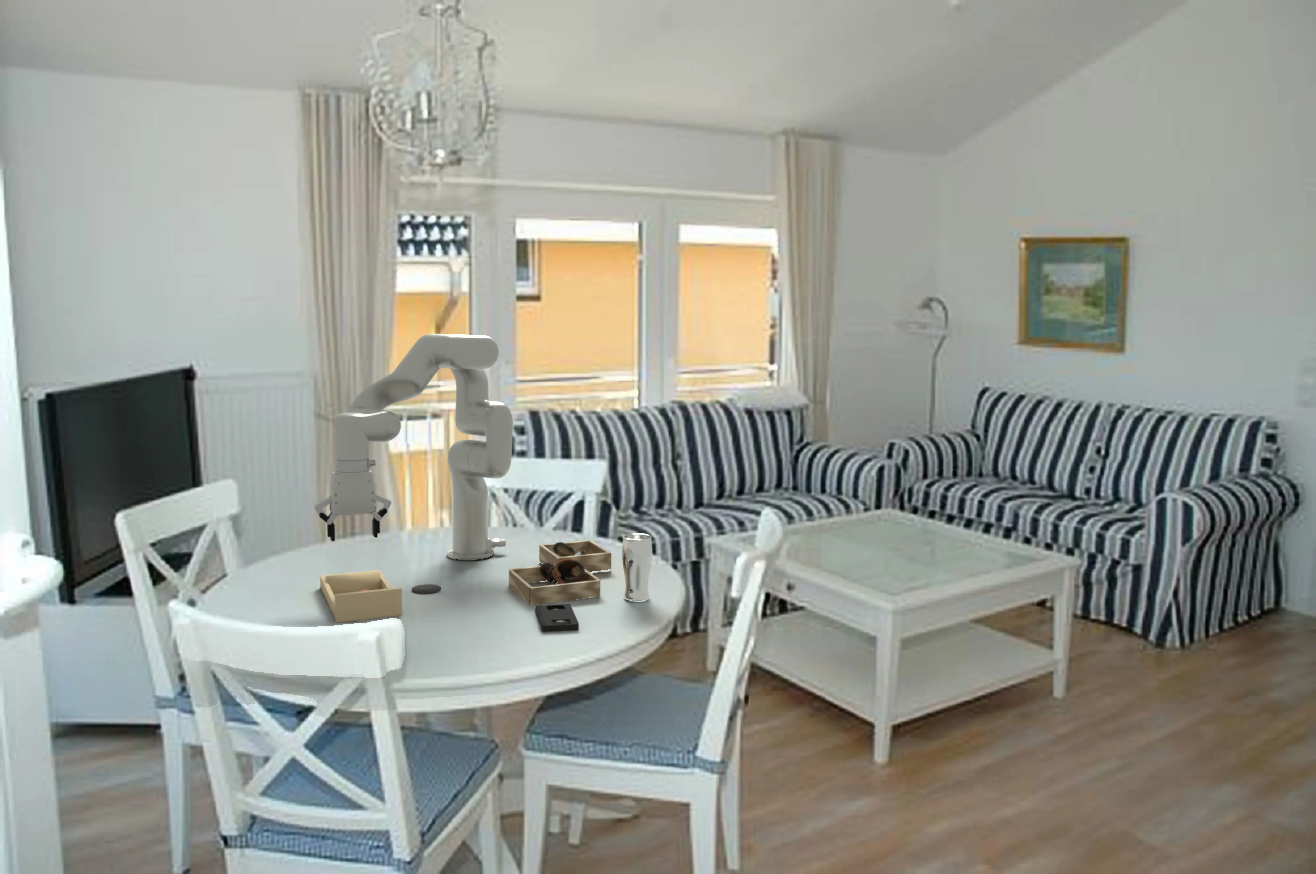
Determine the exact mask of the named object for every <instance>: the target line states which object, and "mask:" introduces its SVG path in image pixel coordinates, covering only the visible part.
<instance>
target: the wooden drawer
mask: <svg viewBox="0 0 1316 874" xmlns="http://www.w3.org/2000/svg"><path fill="white" fill-rule="evenodd" d="M319 578H320V579H319V582H320V584H319V585H320V589H321V592H322V594H324V595H323V597H324V599H325V601H326V603H327V605H328V608H329V610H330V612H331V614H332V617H333V619H334V621H335V623H336V624H337V623H343V622H353V621H363V620H371V619H378V618H379V619H380V618H387V617H396V616H402V615H403V595H402V594H403V593H402V592H403V591H402V587H400V586H399V587H392V585H391V583H390V582H389V581H388V579H387V578H386V576H385V575H384V574H383V572H382V571H381V570H380V569H375V570H374V569H373V570H367V571H366V570H365V571H354V572H345V573H334V574H324V575H323V574H322V575H319ZM364 589H368V590H369V591H361V590H364Z"/></svg>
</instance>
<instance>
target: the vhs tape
mask: <svg viewBox="0 0 1316 874" xmlns="http://www.w3.org/2000/svg"><path fill="white" fill-rule="evenodd" d="M534 607H535V608H534V610H535V611H534V612H535V615H536V619H537V622H538V625H539V628H540V632H541V633H557V632H560V633H561V632H576V631H579V630H580V629H579V628H580V626H579V625H580V622H579V621H578V619H577V617H576V614H575V612H574V609H573V607H572V605H571V603H563V604H562V603H561V604H560V603H559V604H538V605H534Z"/></svg>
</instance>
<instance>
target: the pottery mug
mask: <svg viewBox="0 0 1316 874" xmlns="http://www.w3.org/2000/svg"><path fill="white" fill-rule="evenodd" d="M540 566H541V567H540V569H539V570H540V573H541V575H542V576H543V577H544V578H545V579H546V580H547V581H548V582H547V583H548V585H552V583H553V582H554V583H557V582H558V583H557V584H566V583H575V582H584V580H585V579H587V577H586V574H585V573H584V571H585V570H584V566H583V564H581V563H580V562H579V561H577V560H574V559H562V560H560V561H558V562H557V563H556V564H555V565H553V564H551V563H543V564H542V565H541V564H540ZM576 566H578V567H579V568H580V569H581V573H580V575H578V576H576V575H574V574H572V573H571V571H572V569H573V568H575V567H576ZM547 571H548V572H547ZM553 578H554V581H553Z"/></svg>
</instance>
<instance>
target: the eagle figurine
mask: <svg viewBox="0 0 1316 874" xmlns="http://www.w3.org/2000/svg"><path fill="white" fill-rule="evenodd" d="M564 543H565V542H563V541H560V542H559V541H558V542H556V544H555V543H554V544H555V545H554V547H553V549H554V551H555V553H557V554H559V555H561V556H564V557H566V556H577V555H581V554H580V552H579V551H578V552H577V553H576V554H574V553H575V551H574V549H573V548H572V547H568V546H567V545H565V544H564ZM586 551H587V549H586V550H585V552H584V551H582V555H586Z"/></svg>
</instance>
